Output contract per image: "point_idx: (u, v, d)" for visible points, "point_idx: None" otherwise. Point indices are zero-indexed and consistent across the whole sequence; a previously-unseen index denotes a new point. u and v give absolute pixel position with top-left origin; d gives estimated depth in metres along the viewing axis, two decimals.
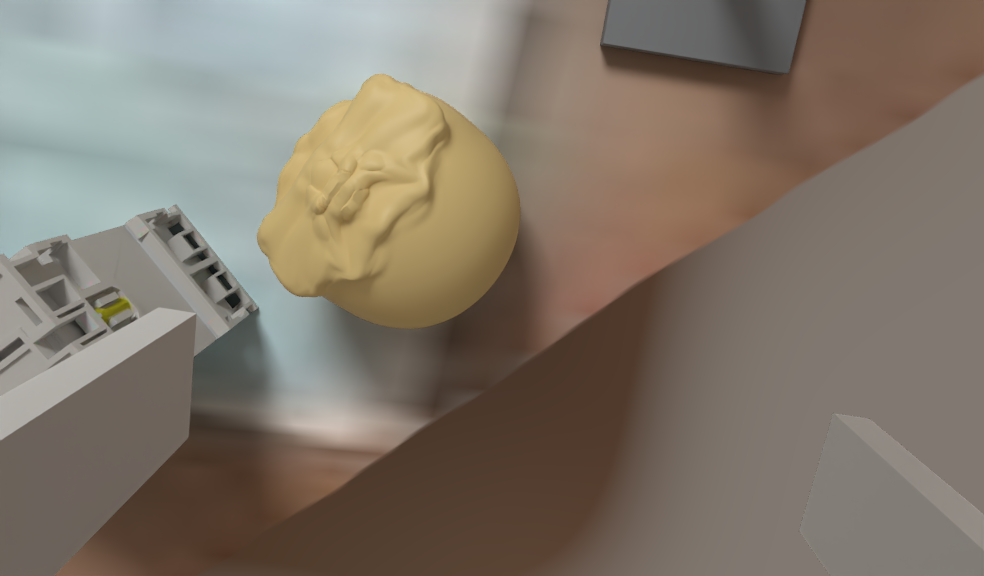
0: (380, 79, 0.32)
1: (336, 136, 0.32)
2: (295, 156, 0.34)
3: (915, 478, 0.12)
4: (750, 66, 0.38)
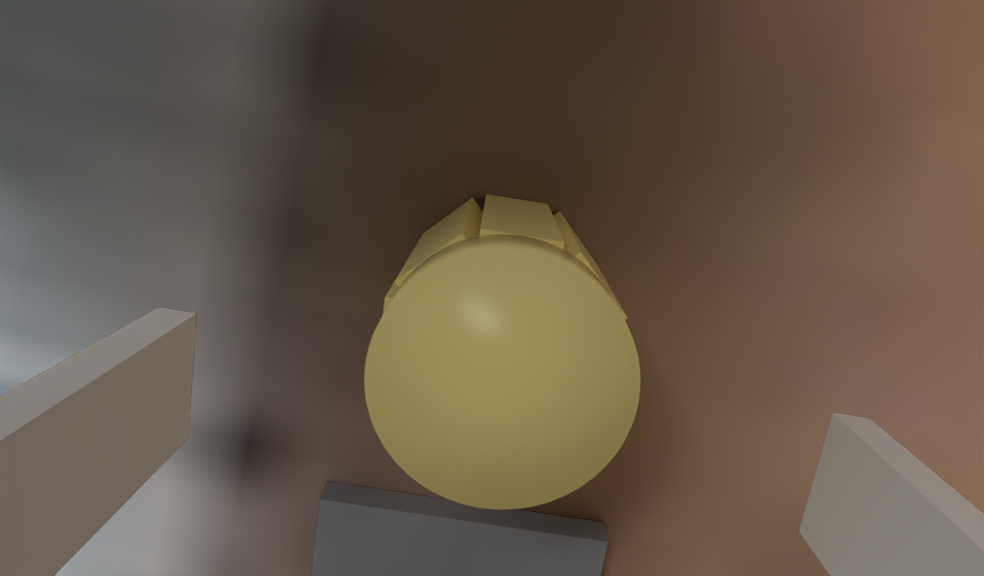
0: None
1: None
2: None
3: (915, 478, 0.12)
4: None
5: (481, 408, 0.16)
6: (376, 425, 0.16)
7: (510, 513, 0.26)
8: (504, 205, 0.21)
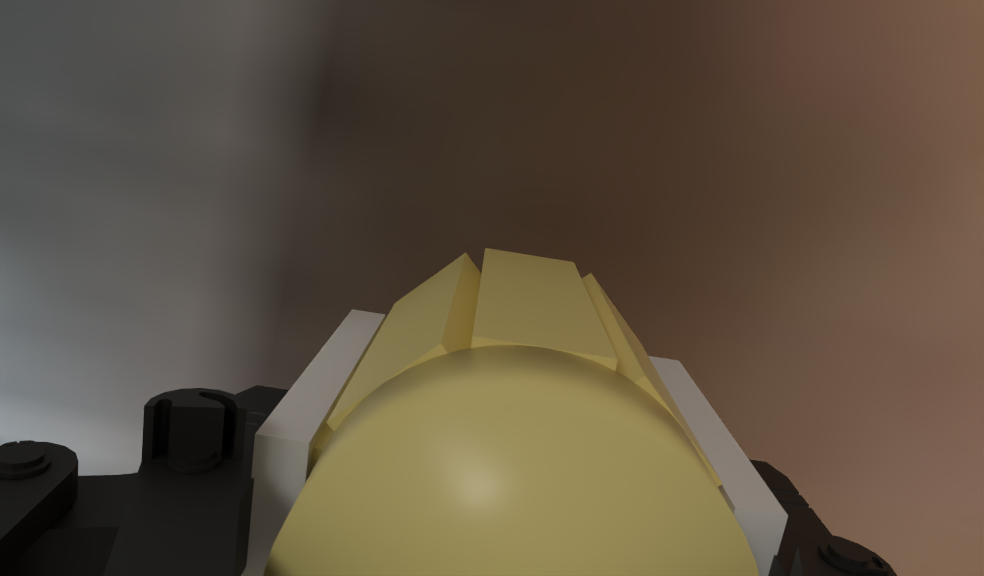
0: None
1: None
2: None
3: (683, 402, 0.14)
4: None
5: None
6: None
7: None
8: (512, 271, 0.14)
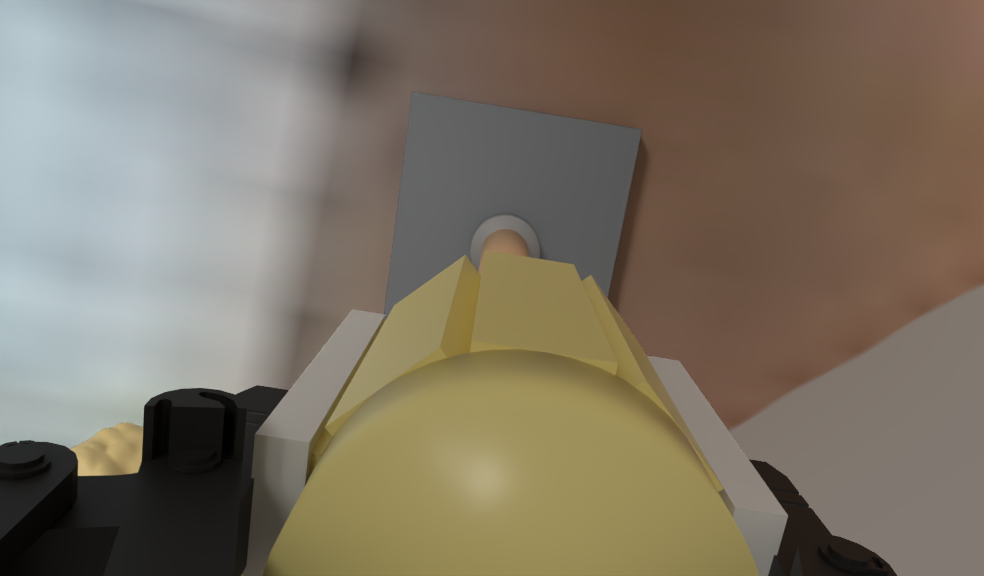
0: None
1: None
2: None
3: (683, 402, 0.14)
4: None
5: None
6: None
7: None
8: (511, 273, 0.14)
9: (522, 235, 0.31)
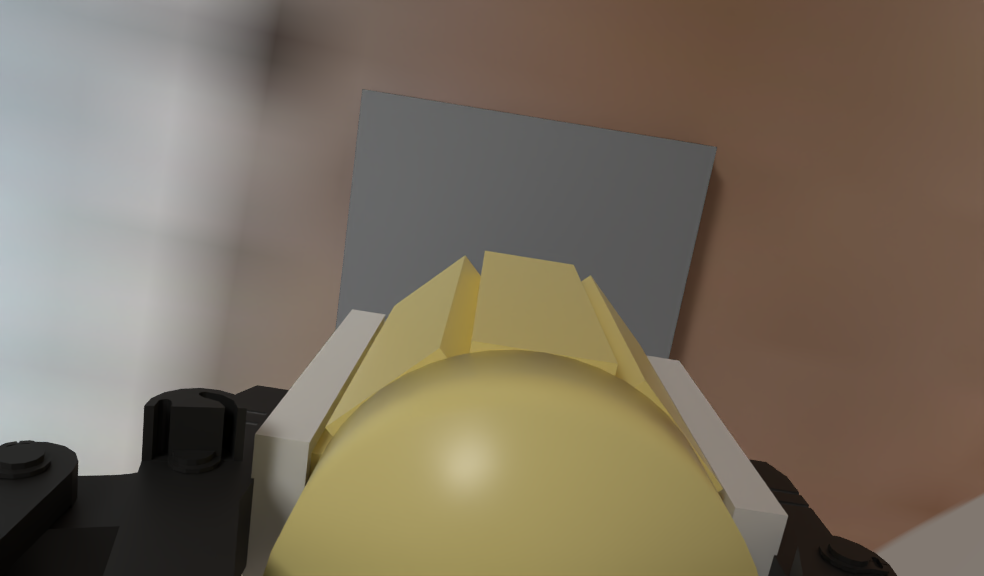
0: None
1: None
2: None
3: (683, 402, 0.14)
4: None
5: None
6: None
7: None
8: (511, 274, 0.14)
9: None
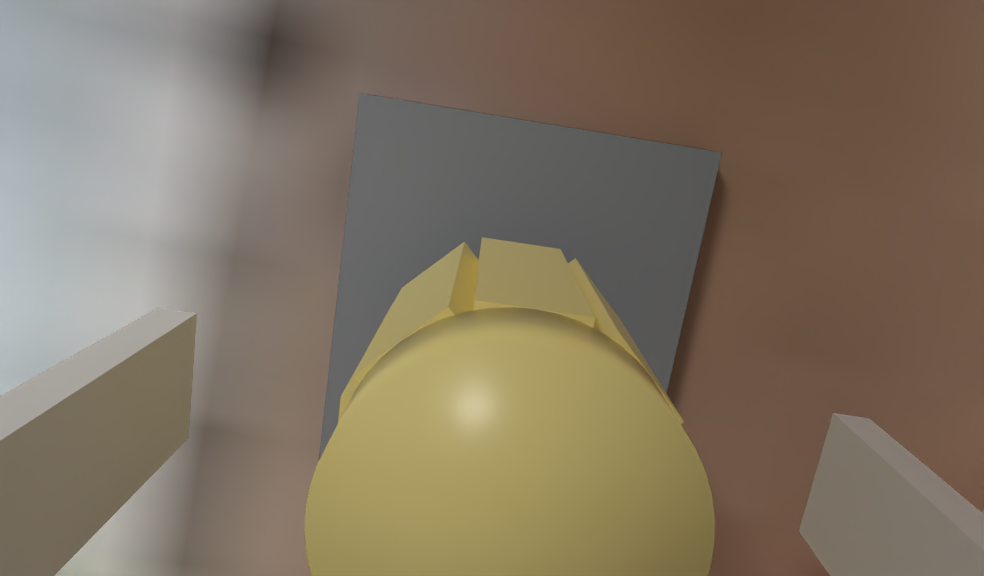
0: None
1: None
2: None
3: (915, 478, 0.12)
4: None
5: (478, 571, 0.11)
6: None
7: None
8: (506, 254, 0.16)
9: None
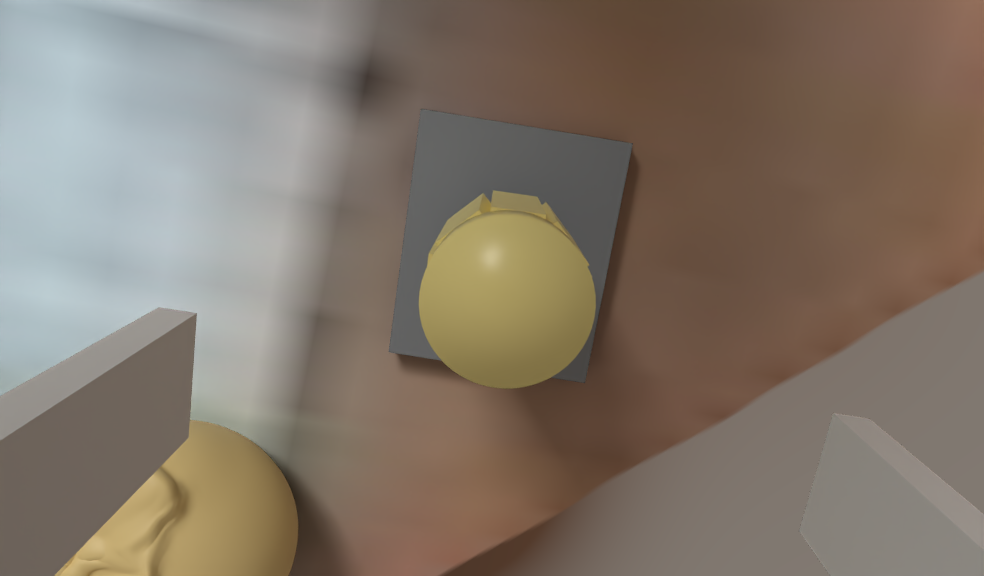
0: None
1: None
2: None
3: (915, 478, 0.12)
4: None
5: (493, 320, 0.25)
6: (426, 332, 0.25)
7: None
8: (506, 196, 0.30)
9: None
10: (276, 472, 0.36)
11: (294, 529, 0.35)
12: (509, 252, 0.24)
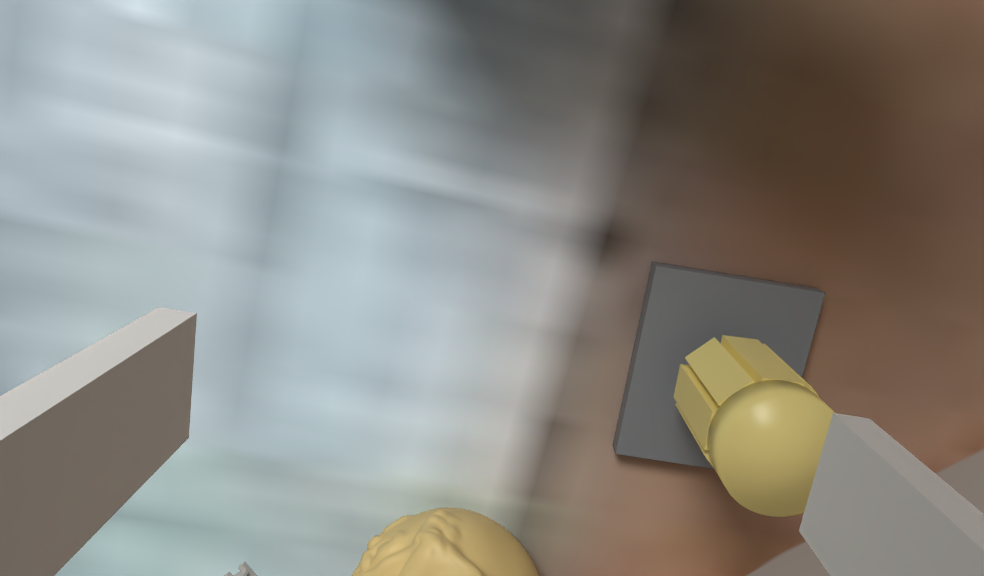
0: (432, 547, 0.39)
1: None
2: None
3: (915, 478, 0.12)
4: None
5: (774, 468, 0.33)
6: (723, 477, 0.33)
7: (762, 280, 0.43)
8: (744, 347, 0.39)
9: None
10: None
11: None
12: (790, 421, 0.32)
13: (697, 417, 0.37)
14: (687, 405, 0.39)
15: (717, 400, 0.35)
